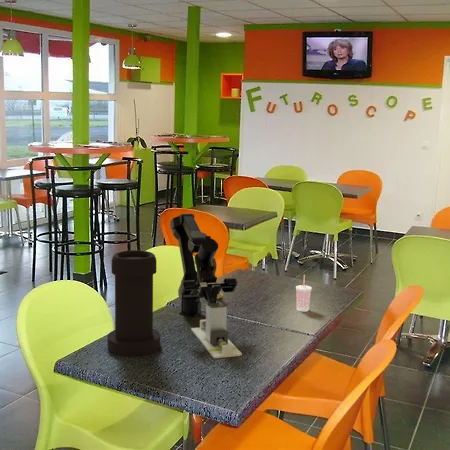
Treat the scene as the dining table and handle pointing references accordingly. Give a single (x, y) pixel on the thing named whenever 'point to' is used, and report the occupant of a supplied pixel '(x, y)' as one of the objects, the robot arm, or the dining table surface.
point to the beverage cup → (303, 296)
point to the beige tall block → (215, 318)
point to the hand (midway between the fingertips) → (213, 309)
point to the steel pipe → (217, 338)
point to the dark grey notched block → (219, 334)
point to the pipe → (133, 304)
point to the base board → (216, 350)
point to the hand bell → (214, 272)
